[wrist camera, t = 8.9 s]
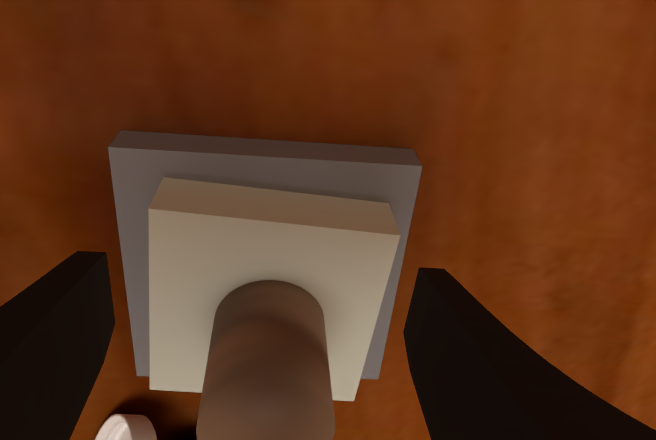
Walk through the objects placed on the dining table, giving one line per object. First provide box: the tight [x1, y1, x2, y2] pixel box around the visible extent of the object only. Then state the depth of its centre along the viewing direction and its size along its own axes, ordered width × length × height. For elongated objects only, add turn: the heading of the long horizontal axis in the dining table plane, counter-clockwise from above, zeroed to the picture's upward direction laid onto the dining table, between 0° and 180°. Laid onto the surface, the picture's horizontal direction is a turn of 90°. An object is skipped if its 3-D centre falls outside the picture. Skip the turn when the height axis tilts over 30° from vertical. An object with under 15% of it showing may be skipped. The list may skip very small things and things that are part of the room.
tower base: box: [108, 130, 422, 379], centre depth 24 cm, size 12×12×2 cm
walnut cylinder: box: [196, 280, 335, 440], centre depth 18 cm, size 4×4×5 cm
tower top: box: [148, 177, 400, 401], centre depth 21 cm, size 9×9×2 cm
